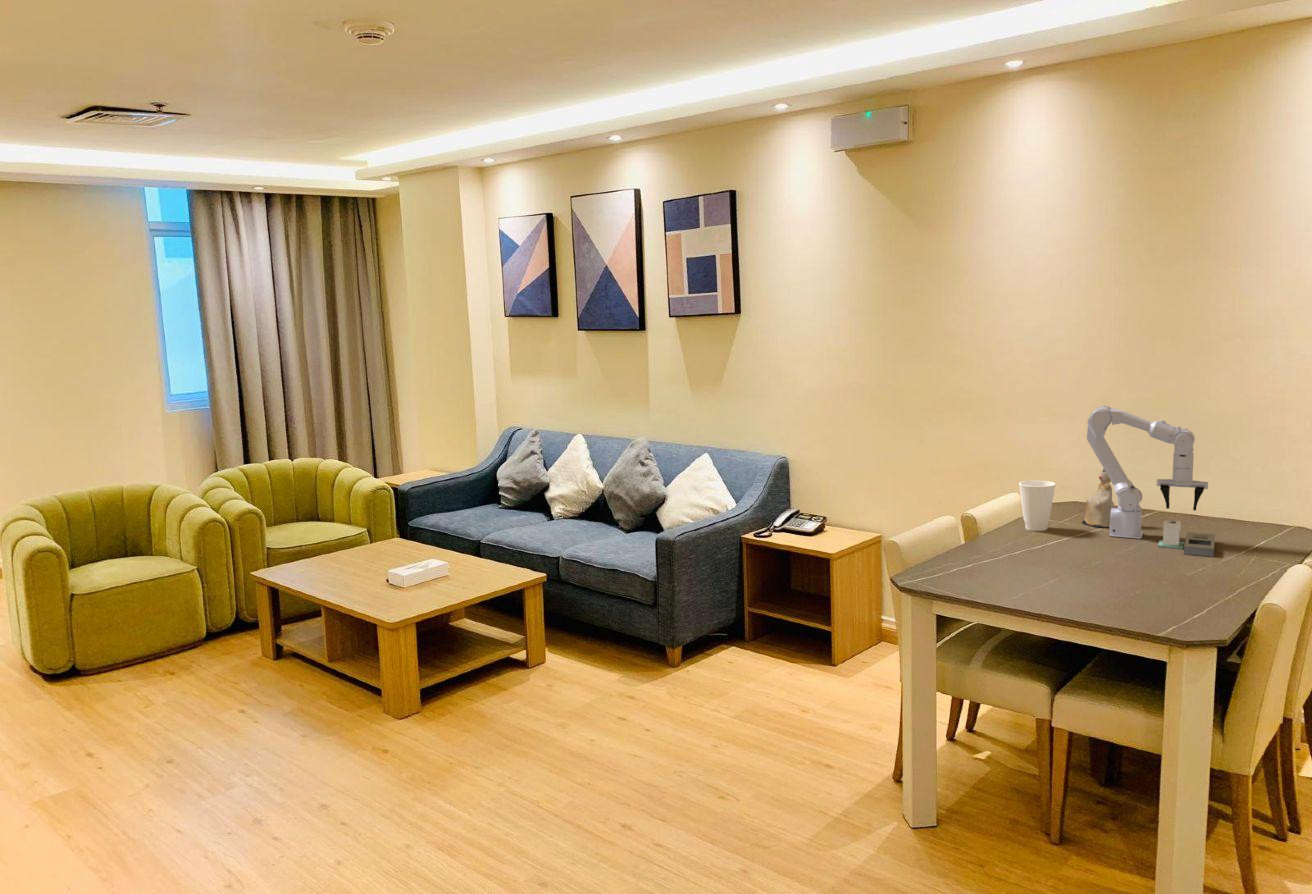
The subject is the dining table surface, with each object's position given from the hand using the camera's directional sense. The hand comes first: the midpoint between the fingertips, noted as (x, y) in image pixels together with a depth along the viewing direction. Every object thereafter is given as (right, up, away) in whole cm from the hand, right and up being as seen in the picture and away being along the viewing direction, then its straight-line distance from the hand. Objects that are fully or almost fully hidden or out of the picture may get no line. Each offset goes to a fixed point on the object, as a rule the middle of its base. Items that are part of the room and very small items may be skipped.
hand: (1181, 509), depth 323 cm
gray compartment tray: (+1, -12, -9) cm, 15 cm away
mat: (-6, -11, -5) cm, 14 cm away
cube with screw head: (-6, -11, -5) cm, 13 cm away
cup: (-38, -8, +23) cm, 45 cm away
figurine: (-14, -7, +26) cm, 31 cm away
